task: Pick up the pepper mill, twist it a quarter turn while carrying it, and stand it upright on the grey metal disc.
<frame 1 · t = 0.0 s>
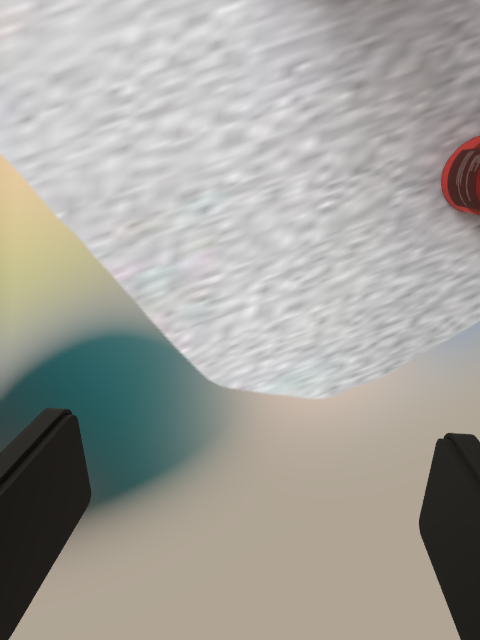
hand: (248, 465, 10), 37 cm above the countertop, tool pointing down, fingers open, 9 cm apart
canned food: (477, 174, 40), on the countertop
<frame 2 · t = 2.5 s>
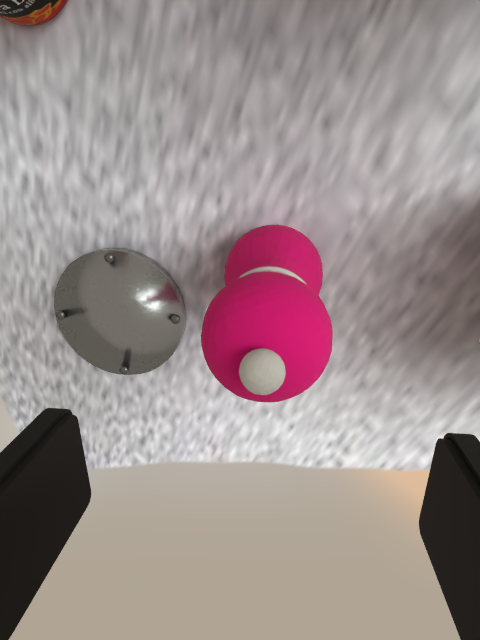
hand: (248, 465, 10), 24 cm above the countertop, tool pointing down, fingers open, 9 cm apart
grey metal disc: (123, 311, 35), on the countertop
pepper mill: (274, 261, 32), on the countertop
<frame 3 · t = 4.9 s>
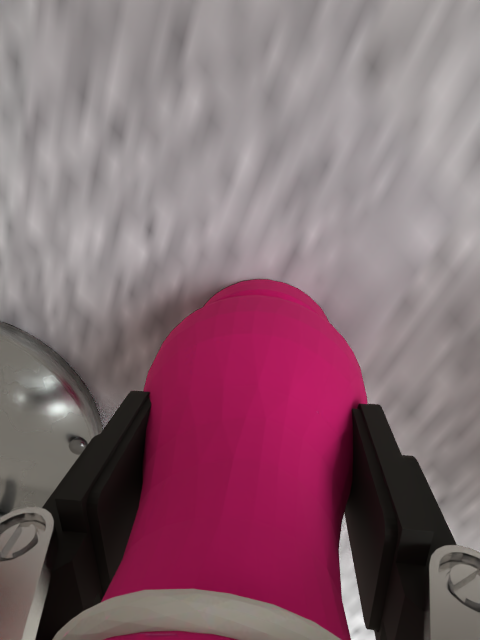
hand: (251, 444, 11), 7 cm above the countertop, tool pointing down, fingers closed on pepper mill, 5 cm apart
pepper mill: (261, 344, 17), on the countertop, touching gripper
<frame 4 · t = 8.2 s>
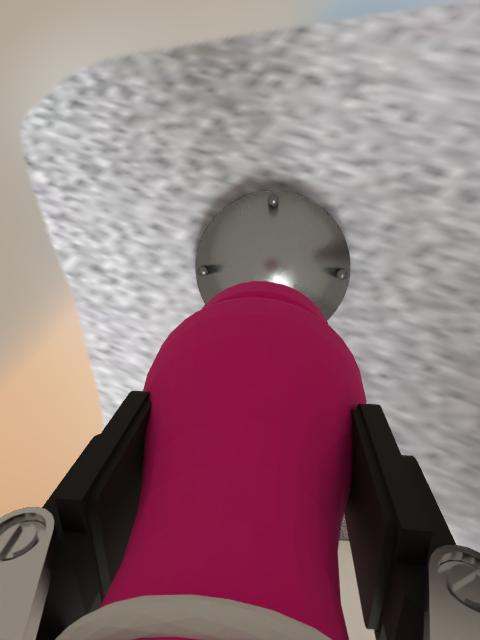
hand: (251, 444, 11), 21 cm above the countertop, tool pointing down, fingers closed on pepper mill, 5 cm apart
gable box: (310, 603, 45), on the countertop
grey metal disc: (271, 268, 31), on the countertop
pepper mill: (260, 346, 17), point 15 cm above the countertop, touching gripper
when the fingers open (9 cm above the countertop, at t = 11.2 s): pepper mill drops 1 cm, resting on grey metal disc.
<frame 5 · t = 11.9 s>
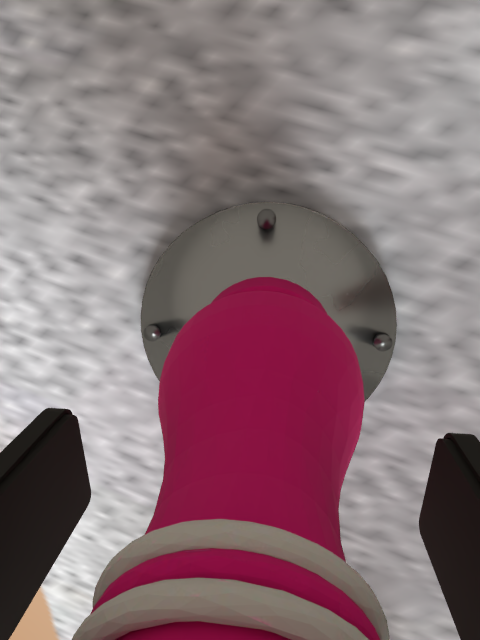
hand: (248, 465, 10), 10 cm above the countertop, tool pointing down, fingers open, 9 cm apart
grey metal disc: (265, 326, 19), on the countertop
pepper mill: (265, 338, 18), point 1 cm above the countertop, touching grey metal disc
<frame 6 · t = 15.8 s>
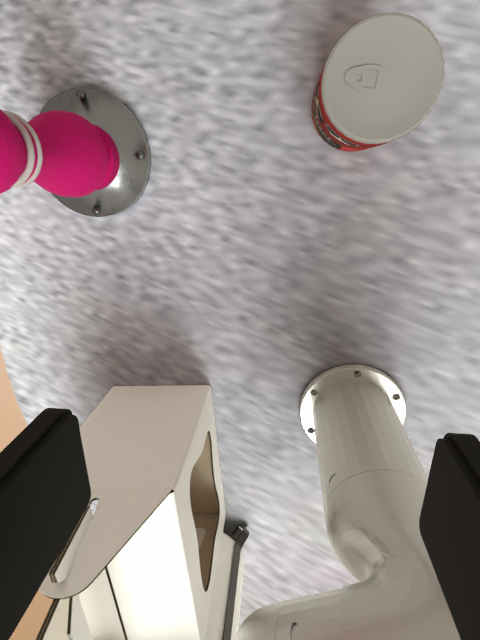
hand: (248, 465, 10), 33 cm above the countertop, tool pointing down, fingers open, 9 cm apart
gable box: (173, 452, 53), on the countertop
canned food: (353, 108, 36), on the countertop
coffee press: (208, 546, 58), on the countertop
grey metal disc: (95, 156, 39), on the countertop
pepper mill: (91, 157, 39), point 1 cm above the countertop, touching grey metal disc
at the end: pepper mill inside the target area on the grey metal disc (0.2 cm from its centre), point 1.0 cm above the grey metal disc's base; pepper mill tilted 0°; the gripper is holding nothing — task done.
